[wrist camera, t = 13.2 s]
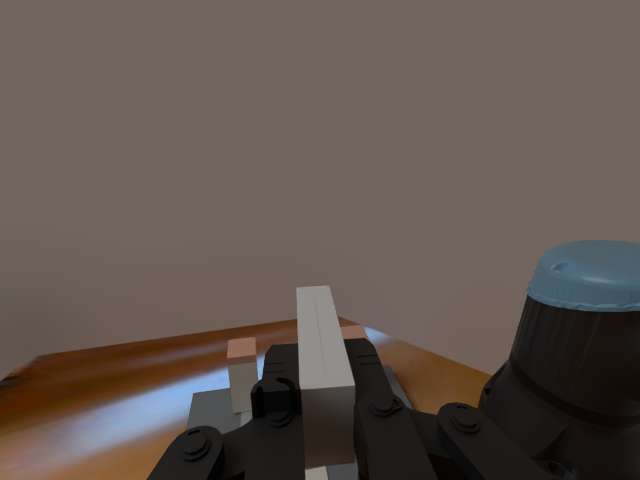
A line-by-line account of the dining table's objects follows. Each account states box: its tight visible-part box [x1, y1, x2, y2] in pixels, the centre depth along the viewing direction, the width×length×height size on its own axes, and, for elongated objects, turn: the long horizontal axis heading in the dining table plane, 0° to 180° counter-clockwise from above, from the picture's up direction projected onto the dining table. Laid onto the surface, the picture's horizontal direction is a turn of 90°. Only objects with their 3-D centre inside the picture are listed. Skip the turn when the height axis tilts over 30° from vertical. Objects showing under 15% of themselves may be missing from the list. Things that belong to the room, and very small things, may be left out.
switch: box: [340, 325, 370, 341], centre depth 40 cm, size 3×3×8 cm
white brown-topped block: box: [227, 337, 258, 413], centre depth 38 cm, size 3×3×8 cm
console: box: [186, 366, 414, 480], centre depth 37 cm, size 26×14×2 cm, turn 102°
